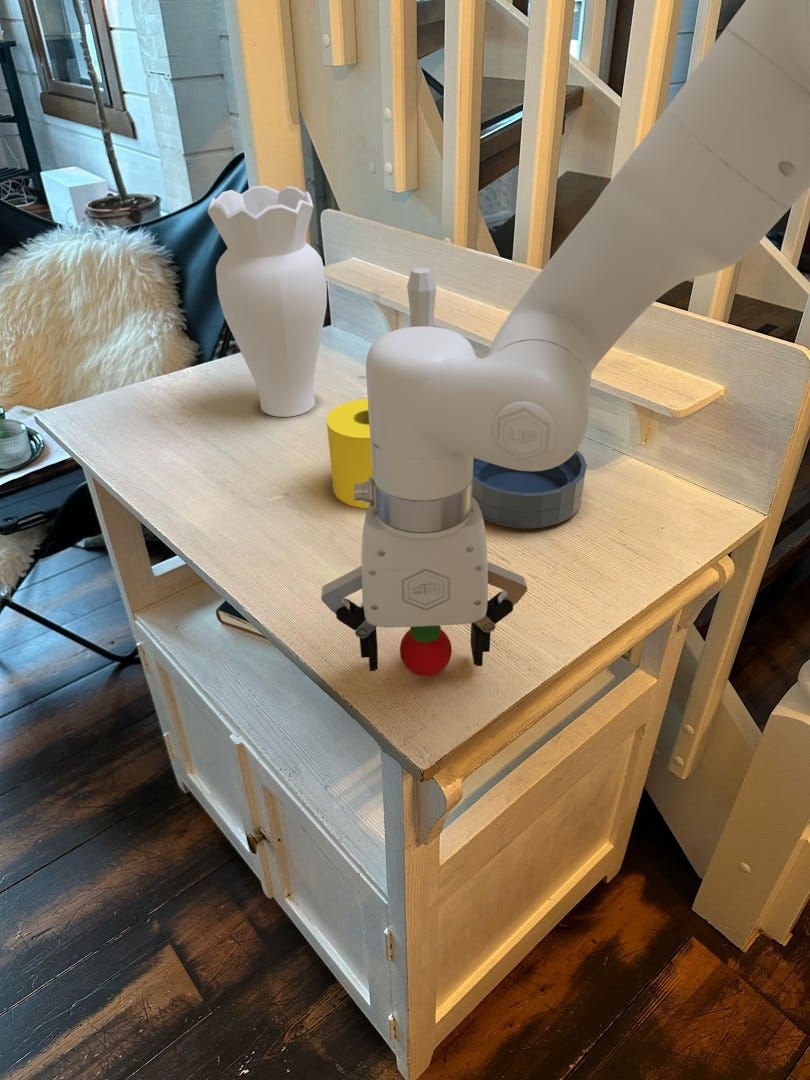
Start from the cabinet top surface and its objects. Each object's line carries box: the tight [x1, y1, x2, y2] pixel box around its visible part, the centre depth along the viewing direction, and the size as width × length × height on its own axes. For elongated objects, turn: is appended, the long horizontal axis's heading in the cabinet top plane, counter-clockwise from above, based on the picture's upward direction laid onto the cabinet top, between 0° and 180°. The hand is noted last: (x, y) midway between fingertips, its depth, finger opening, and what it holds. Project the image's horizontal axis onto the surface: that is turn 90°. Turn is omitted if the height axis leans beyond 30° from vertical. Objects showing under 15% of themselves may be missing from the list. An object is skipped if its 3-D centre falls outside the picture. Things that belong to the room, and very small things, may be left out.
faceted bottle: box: [406, 267, 437, 327], centre depth 98 cm, size 6×6×22 cm
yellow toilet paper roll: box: [326, 398, 373, 509], centre depth 91 cm, size 10×10×9 cm
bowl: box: [472, 449, 588, 529], centre depth 89 cm, size 14×14×5 cm
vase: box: [206, 185, 328, 418], centre depth 104 cm, size 15×15×29 cm
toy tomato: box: [399, 625, 453, 677], centre depth 67 cm, size 5×5×5 cm
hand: (425, 657), depth 68 cm, fingers open, 8 cm apart
